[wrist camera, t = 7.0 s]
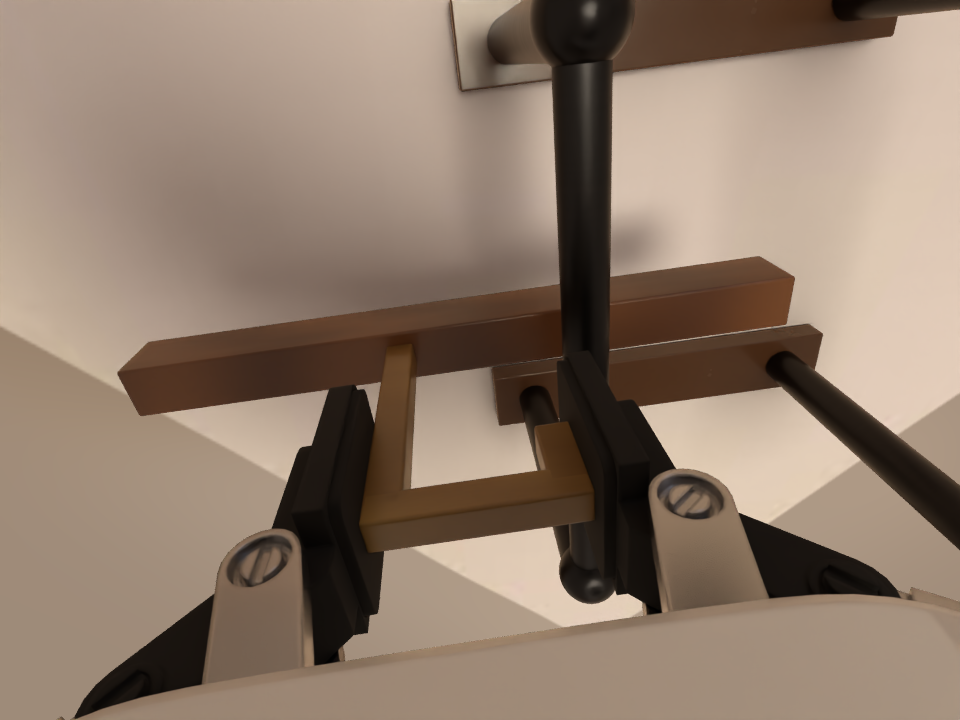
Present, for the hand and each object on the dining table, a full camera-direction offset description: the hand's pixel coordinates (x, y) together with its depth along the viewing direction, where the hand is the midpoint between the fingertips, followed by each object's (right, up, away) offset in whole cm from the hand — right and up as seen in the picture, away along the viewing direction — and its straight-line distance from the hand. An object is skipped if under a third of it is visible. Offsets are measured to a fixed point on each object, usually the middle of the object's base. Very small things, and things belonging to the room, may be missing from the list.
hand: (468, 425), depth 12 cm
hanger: (0, +2, +4) cm, 5 cm away
